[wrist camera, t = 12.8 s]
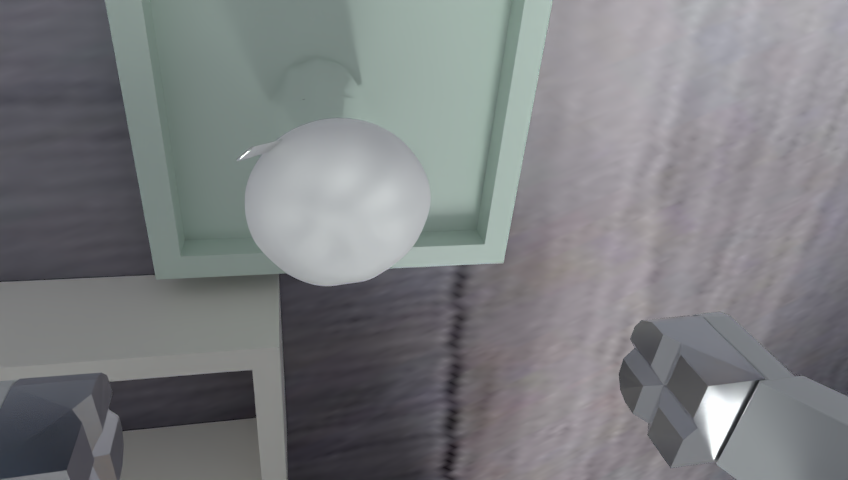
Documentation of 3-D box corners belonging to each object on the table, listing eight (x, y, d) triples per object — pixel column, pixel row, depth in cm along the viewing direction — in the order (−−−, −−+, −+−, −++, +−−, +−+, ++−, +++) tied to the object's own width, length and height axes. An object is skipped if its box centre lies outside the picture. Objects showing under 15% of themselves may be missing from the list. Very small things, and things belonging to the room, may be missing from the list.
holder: (-47, 463, 27) (-105, 570, 23) (-134, 288, 22) (-230, 385, 18) (286, 428, 30) (288, 516, 26) (278, 269, 25) (279, 347, 21)
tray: (163, 254, 24) (156, 279, 22) (92, -163, 16) (74, -167, 15) (490, 241, 27) (503, 263, 25) (551, -114, 20) (573, -113, 18)
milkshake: (308, -12, 19) (334, 77, 11) (406, 108, 22) (484, 251, 14) (208, 77, 20) (160, 222, 12) (315, 182, 23) (337, 359, 14)
